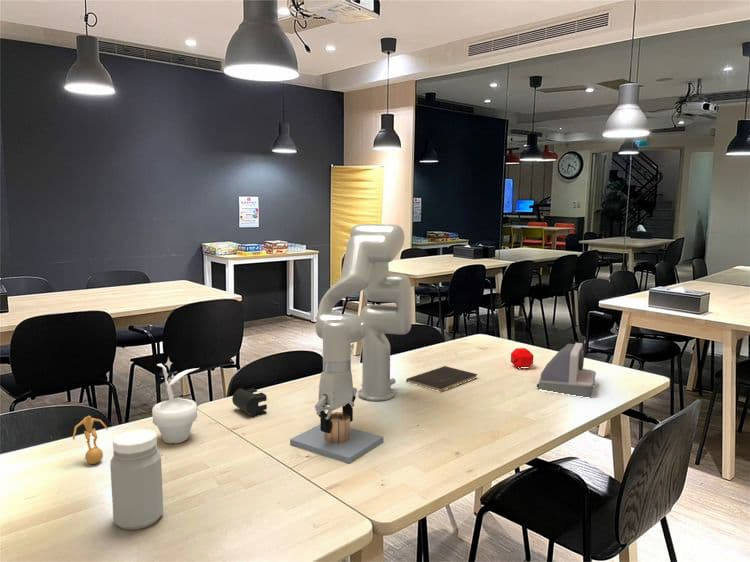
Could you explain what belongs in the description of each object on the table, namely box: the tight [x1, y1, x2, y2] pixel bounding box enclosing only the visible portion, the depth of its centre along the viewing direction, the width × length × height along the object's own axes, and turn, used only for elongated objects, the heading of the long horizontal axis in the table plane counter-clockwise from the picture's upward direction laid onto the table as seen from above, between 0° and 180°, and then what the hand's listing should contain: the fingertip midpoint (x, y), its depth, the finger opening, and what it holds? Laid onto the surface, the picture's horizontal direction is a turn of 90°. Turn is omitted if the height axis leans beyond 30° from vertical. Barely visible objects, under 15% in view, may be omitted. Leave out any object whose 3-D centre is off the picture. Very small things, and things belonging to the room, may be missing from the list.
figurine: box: [72, 415, 109, 465], centre depth 141 cm, size 8×6×12 cm
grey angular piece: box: [536, 342, 597, 398], centre depth 203 cm, size 21×21×15 cm
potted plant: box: [151, 356, 200, 445], centre depth 154 cm, size 13×12×25 cm
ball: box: [510, 347, 534, 368], centre depth 227 cm, size 8×8×8 cm
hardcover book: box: [405, 365, 478, 392], centre depth 210 cm, size 16×23×2 cm
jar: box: [109, 428, 164, 531], centre depth 115 cm, size 10×10×18 cm
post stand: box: [289, 419, 384, 464], centre depth 153 cm, size 16×20×6 cm
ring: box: [324, 411, 351, 443], centre depth 153 cm, size 7×7×6 cm
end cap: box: [231, 387, 268, 418], centre depth 176 cm, size 10×7×7 cm
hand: (336, 426), depth 153 cm, fingers open, 9 cm apart
